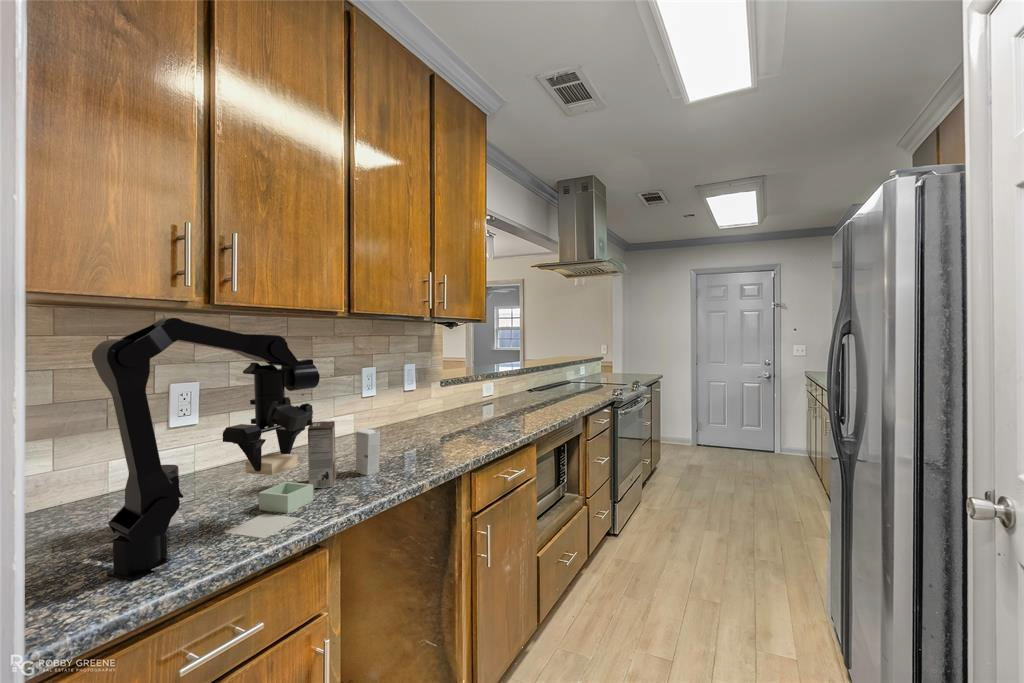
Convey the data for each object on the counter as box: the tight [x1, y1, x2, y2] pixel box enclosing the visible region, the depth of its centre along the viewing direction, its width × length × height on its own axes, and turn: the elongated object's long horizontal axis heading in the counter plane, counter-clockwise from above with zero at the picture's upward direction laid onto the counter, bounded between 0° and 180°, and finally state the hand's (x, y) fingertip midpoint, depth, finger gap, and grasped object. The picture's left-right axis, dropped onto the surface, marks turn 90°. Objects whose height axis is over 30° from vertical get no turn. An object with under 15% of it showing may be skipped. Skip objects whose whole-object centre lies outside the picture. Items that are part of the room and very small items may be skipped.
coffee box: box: [307, 420, 337, 490], centre depth 124 cm, size 9×6×16 cm
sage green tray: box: [258, 481, 314, 514], centre depth 107 cm, size 8×8×4 cm
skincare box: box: [355, 428, 381, 477], centre depth 134 cm, size 6×4×12 cm
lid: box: [244, 452, 299, 476], centre depth 99 cm, size 7×7×2 cm
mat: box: [224, 513, 302, 539], centre depth 96 cm, size 10×10×1 cm
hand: (272, 466), depth 99 cm, fingers closed on lid, 7 cm apart
